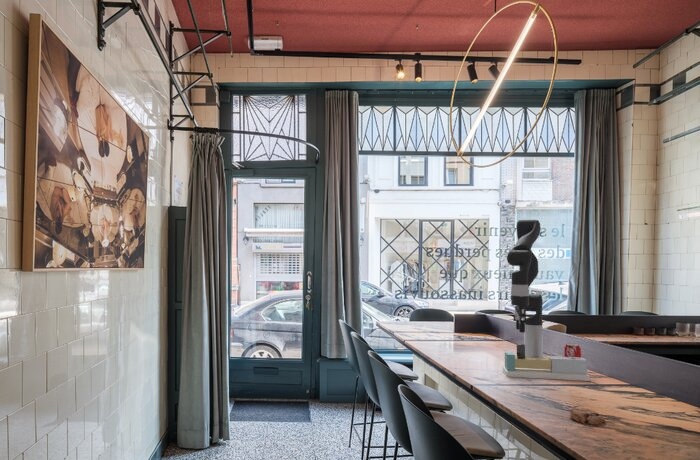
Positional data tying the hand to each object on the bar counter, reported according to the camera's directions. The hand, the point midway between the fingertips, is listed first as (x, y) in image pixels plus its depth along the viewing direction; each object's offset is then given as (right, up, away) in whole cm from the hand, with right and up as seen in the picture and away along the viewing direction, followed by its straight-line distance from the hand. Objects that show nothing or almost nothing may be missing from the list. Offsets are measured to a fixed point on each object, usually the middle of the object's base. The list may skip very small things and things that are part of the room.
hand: (520, 330), depth 210 cm
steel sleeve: (+19, -17, -5) cm, 26 cm away
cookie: (-2, -15, -62) cm, 64 cm away
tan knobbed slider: (+5, -16, -2) cm, 17 cm away
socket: (-5, -17, 0) cm, 18 cm away
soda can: (+27, -20, +8) cm, 35 cm away
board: (+10, -19, -3) cm, 22 cm away
